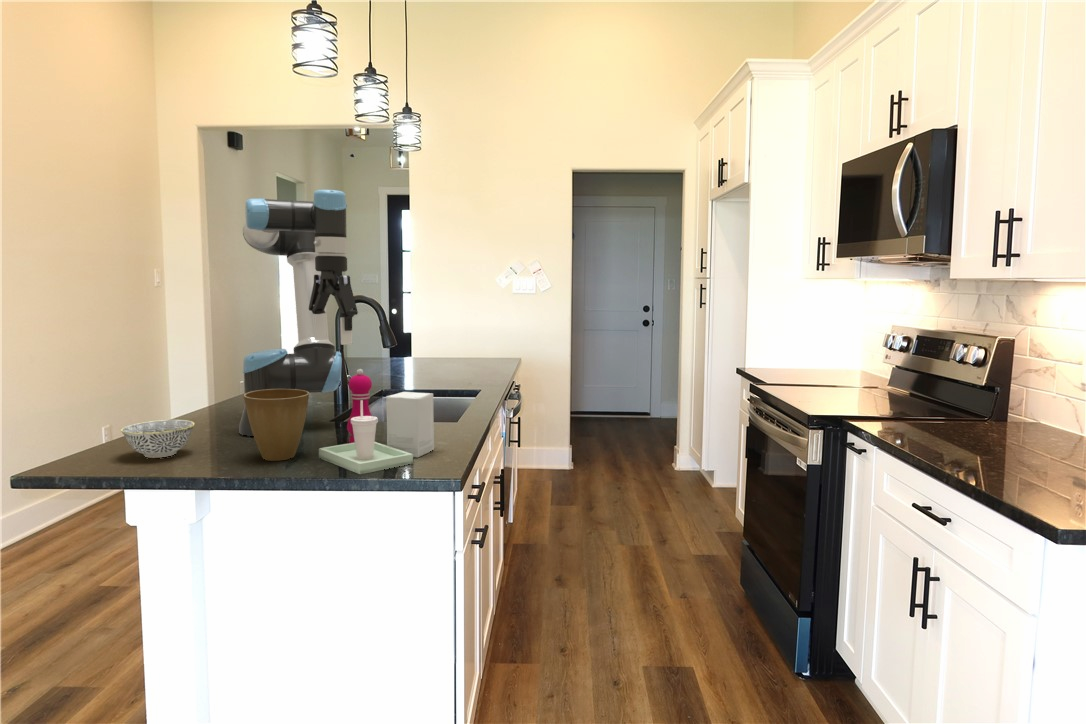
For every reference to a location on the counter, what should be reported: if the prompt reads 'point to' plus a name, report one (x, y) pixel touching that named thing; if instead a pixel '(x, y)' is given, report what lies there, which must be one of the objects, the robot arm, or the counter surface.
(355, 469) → the tray
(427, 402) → the supplement box
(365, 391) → the pepper mill
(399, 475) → the counter surface
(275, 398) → the plant pot
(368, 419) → the smoothie
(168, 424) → the bowl
